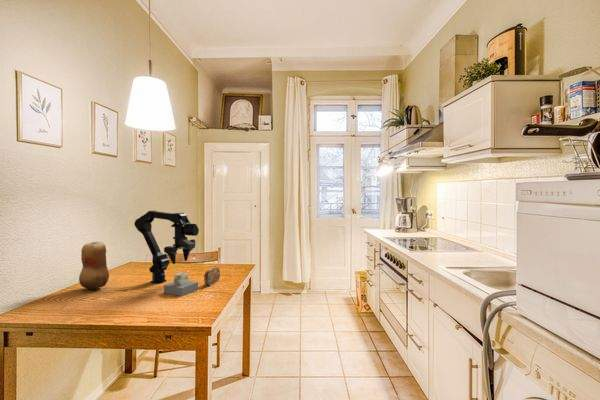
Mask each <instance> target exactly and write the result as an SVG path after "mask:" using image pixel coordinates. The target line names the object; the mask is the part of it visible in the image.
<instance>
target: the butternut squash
mask: <svg viewBox="0 0 600 400" xmlns="http://www.w3.org/2000/svg"><path fill="white" fill-rule="evenodd" d="M80 258H81V263H82V268H81V271H80V274H79V277H78V281H79V285H80V286H81V287H83V288H84V289H87V290H90V291H91V290H92V291H95V290H98V289H100V288H103V287H105V286H106V284H108V282H109V278H110V272H109V269H108V266H107V265H108V264H107V248H106V244H105V243H104V242H102V241H92V242H88V243H86V244H84V245H83V246H82V247H81V255H80Z"/></svg>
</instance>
